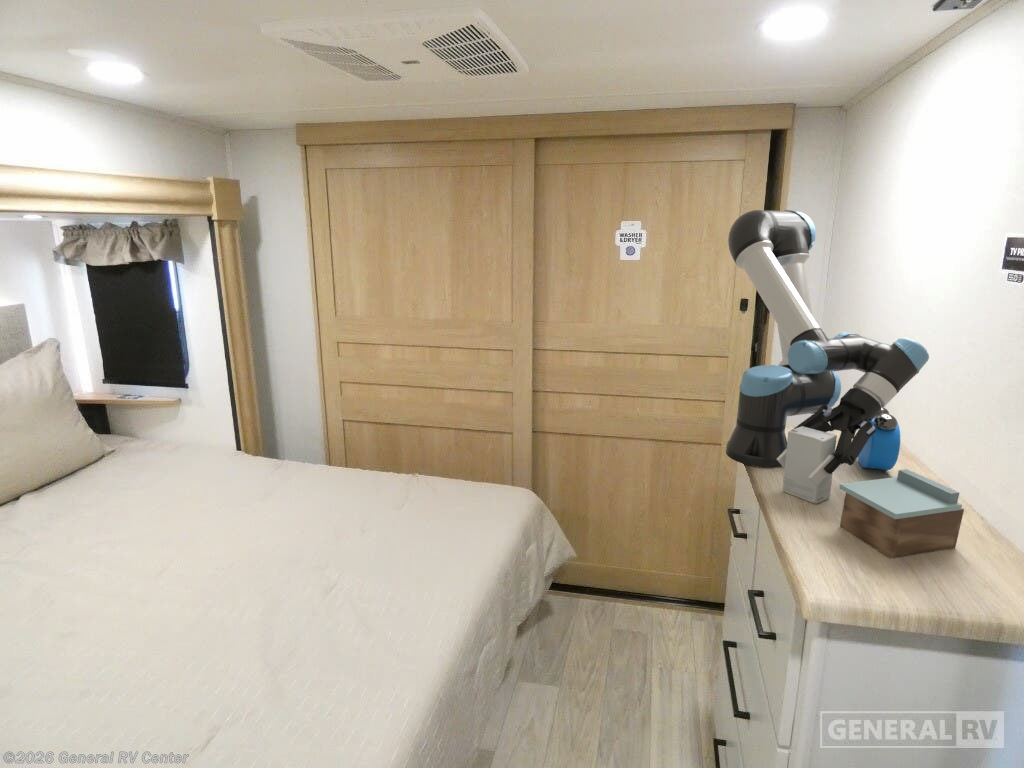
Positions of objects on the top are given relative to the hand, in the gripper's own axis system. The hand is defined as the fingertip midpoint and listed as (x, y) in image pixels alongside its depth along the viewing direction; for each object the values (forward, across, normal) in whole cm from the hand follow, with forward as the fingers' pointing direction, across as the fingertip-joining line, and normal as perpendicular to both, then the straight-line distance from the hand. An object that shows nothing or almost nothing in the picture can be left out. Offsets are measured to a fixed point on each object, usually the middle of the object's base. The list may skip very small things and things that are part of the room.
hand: (795, 471), depth 130 cm
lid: (-6, -20, -2) cm, 21 cm away
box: (-1, -20, -9) cm, 22 cm away
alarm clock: (-18, +9, -26) cm, 33 cm away
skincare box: (+2, 0, -6) cm, 7 cm away
